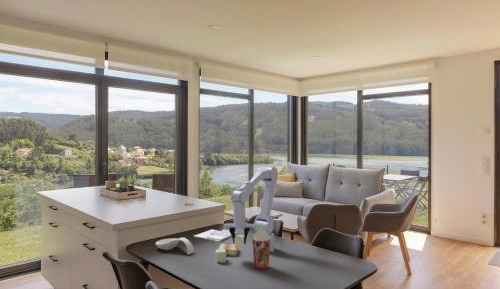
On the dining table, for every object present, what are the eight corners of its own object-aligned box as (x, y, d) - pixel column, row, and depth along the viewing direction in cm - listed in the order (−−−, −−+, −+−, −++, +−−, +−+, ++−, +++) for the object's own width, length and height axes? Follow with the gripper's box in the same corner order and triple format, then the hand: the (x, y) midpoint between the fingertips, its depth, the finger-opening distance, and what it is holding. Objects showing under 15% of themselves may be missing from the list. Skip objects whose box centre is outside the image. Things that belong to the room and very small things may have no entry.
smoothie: (264, 272, 152) (264, 227, 151) (248, 268, 156) (248, 224, 156) (273, 266, 159) (273, 223, 158) (258, 262, 163) (258, 220, 163)
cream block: (244, 245, 169) (244, 235, 169) (243, 248, 165) (243, 238, 165) (235, 245, 169) (235, 235, 169) (234, 248, 165) (234, 237, 165)
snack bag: (220, 242, 196) (220, 239, 196) (192, 237, 207) (192, 234, 207) (238, 234, 212) (238, 231, 212) (212, 230, 223) (212, 227, 223)
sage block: (224, 258, 169) (224, 248, 168) (225, 262, 164) (225, 251, 164) (215, 259, 168) (215, 249, 168) (216, 262, 163) (216, 252, 163)
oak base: (237, 249, 182) (237, 244, 182) (235, 255, 173) (235, 249, 173) (221, 249, 183) (221, 243, 183) (218, 255, 174) (218, 249, 174)
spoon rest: (150, 249, 184) (150, 236, 184) (166, 243, 194) (166, 231, 194) (184, 257, 171) (183, 243, 171) (199, 250, 181) (199, 237, 181)
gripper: (223, 217, 163) (223, 245, 164) (253, 217, 162) (254, 246, 163) (225, 213, 170) (225, 241, 171) (254, 214, 169) (254, 241, 170)
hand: (239, 243), depth 167 cm, fingers closed on cream block, 4 cm apart
